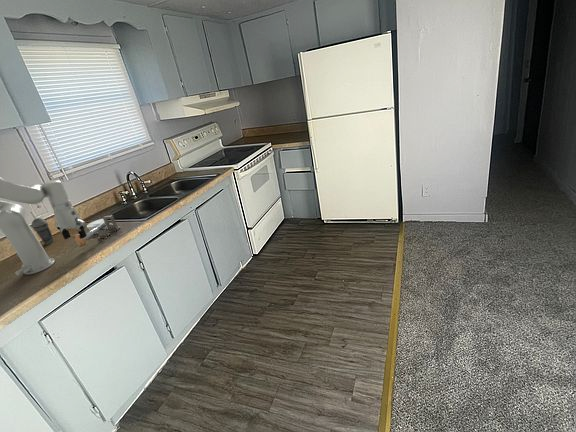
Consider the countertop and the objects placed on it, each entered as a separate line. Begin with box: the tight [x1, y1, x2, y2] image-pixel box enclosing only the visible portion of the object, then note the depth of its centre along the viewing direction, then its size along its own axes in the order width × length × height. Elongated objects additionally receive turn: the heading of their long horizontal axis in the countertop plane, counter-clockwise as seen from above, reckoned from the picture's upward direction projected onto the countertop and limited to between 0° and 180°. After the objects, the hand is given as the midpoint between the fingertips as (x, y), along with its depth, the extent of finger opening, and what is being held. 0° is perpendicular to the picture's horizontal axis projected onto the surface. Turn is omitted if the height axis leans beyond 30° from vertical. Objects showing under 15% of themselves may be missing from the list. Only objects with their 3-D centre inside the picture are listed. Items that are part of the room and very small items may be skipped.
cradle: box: [97, 229, 111, 240], centre depth 169 cm, size 4×5×5 cm
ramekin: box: [86, 218, 108, 235], centre depth 180 cm, size 11×11×5 cm
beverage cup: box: [30, 211, 55, 245], centre depth 173 cm, size 7×7×20 cm
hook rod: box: [73, 223, 106, 248], centre depth 162 cm, size 20×4×6 cm, turn 171°
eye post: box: [102, 214, 121, 233], centre depth 175 cm, size 5×6×9 cm
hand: (75, 237), depth 153 cm, fingers open, 9 cm apart
